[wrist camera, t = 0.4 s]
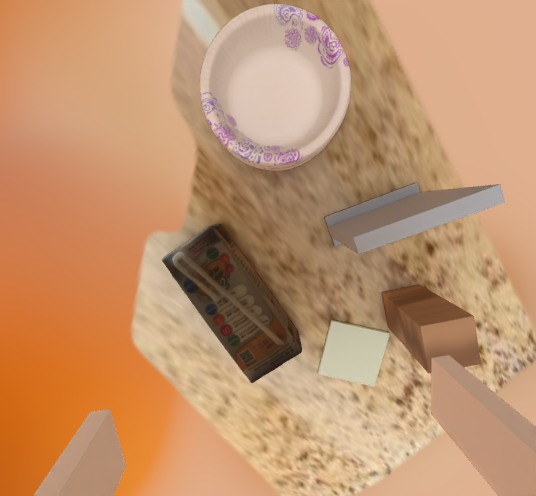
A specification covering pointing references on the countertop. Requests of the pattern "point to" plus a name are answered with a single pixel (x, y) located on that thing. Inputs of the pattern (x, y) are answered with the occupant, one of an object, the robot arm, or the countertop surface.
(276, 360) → the beverage carton
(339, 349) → the sage tile
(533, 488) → the robot arm
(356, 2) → the countertop surface
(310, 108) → the paper bowls
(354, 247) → the slate panel
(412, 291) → the brown tall rectangular block
